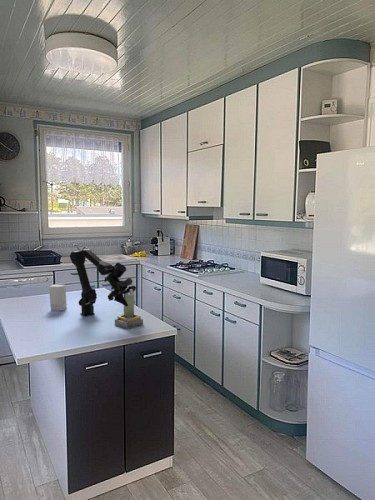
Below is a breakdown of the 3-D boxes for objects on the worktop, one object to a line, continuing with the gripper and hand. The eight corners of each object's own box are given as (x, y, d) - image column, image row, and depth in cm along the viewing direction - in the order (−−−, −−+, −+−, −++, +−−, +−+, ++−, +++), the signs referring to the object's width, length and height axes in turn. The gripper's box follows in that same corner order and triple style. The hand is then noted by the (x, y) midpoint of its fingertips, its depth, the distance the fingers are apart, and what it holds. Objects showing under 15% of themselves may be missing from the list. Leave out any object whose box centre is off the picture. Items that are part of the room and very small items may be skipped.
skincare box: (67, 308, 246) (66, 284, 245) (62, 311, 240) (61, 286, 238) (54, 308, 247) (53, 284, 245) (49, 310, 241) (48, 286, 239)
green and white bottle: (126, 318, 210) (125, 291, 209) (122, 315, 215) (122, 289, 213) (135, 316, 213) (135, 290, 211) (131, 314, 218) (131, 288, 216)
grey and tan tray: (127, 329, 205) (127, 320, 205) (114, 324, 213) (114, 316, 212) (143, 324, 214) (143, 316, 213) (130, 320, 221) (130, 312, 220)
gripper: (111, 276, 206) (127, 299, 201) (133, 271, 221) (149, 292, 217) (100, 289, 211) (116, 311, 206) (123, 283, 226) (138, 304, 222)
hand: (130, 304), depth 213 cm, fingers closed on green and white bottle, 5 cm apart
